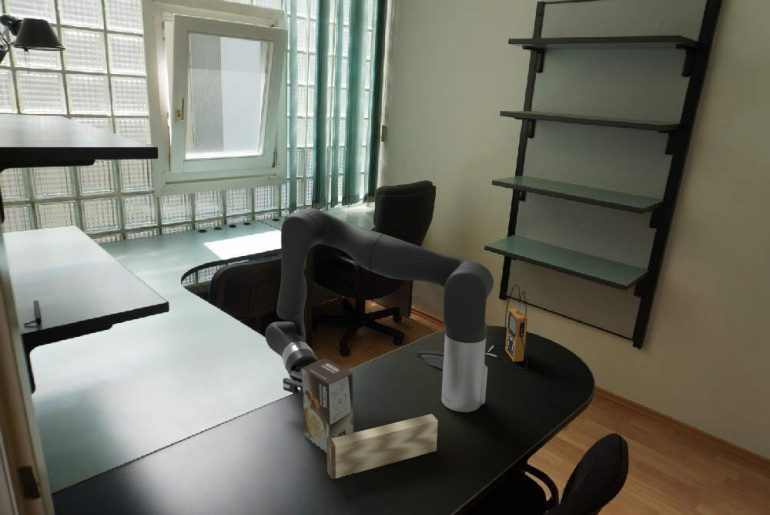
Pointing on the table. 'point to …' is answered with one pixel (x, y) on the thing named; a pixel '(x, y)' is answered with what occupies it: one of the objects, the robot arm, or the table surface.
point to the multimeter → (515, 333)
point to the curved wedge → (433, 358)
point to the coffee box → (327, 401)
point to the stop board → (381, 445)
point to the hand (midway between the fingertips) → (321, 399)
